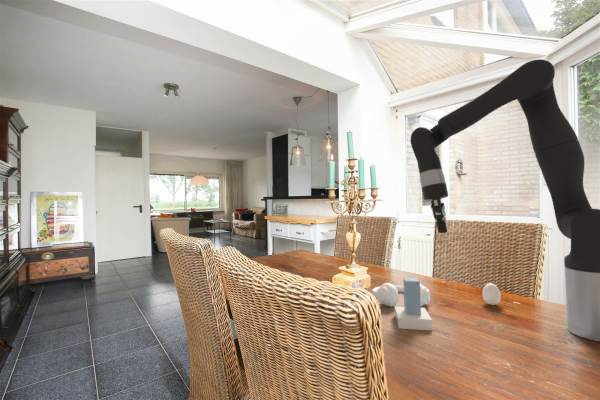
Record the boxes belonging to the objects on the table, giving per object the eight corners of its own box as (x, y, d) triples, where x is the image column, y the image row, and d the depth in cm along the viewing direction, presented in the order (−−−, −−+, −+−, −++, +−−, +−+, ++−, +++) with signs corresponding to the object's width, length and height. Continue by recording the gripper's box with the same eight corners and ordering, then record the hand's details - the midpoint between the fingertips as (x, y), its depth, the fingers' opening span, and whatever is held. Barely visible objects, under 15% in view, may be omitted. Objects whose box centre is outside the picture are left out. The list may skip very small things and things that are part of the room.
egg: (501, 308, 91) (500, 286, 91) (482, 305, 95) (481, 284, 95) (501, 303, 96) (500, 282, 96) (483, 301, 99) (482, 280, 99)
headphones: (437, 309, 92) (418, 295, 112) (435, 285, 93) (416, 275, 113) (377, 309, 94) (369, 295, 114) (376, 285, 95) (368, 275, 115)
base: (425, 317, 87) (424, 307, 87) (432, 330, 78) (432, 319, 78) (395, 315, 89) (394, 306, 89) (398, 328, 80) (398, 318, 80)
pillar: (404, 309, 86) (403, 277, 86) (418, 310, 85) (417, 277, 85) (406, 314, 82) (405, 281, 82) (421, 315, 81) (419, 281, 81)
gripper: (444, 178, 85) (455, 231, 83) (446, 185, 98) (456, 231, 95) (418, 184, 89) (428, 234, 86) (423, 189, 101) (432, 234, 98)
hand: (443, 232), depth 90 cm, fingers open, 8 cm apart
